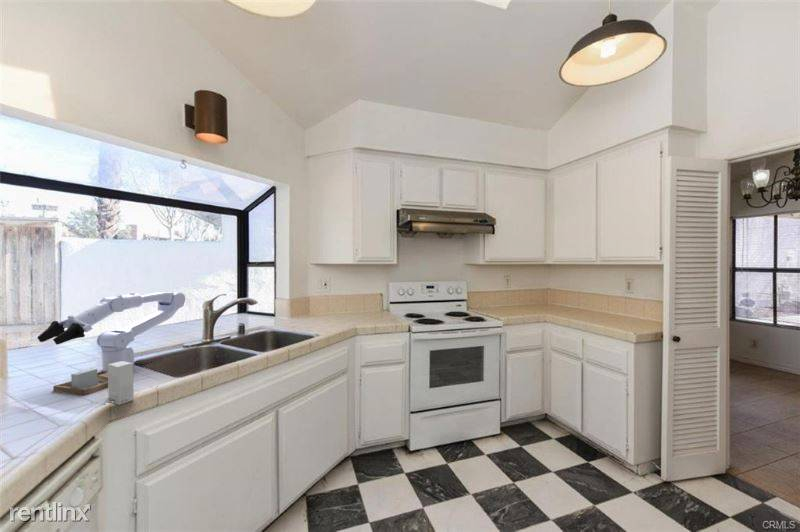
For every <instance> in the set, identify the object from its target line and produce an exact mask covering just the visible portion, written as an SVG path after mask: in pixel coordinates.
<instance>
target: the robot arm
mask: <svg viewBox="0 0 800 532" xmlns="http://www.w3.org/2000/svg"><path fill="white" fill-rule="evenodd" d="M185 301H186V295H185V294H184V293H183V292H169V291H163V292H162V291H161V292H160V291H158V292H154V293H153V292H152V293H149V294H143V295H141V294H139V293H136V292H129V294H117V296H107V297H103V298H102V299H101V300H100V302H99V303H98V304H95V305H94V306H91V307H89V308H88V309H86V310H83V311H82V312H80V313H78V314H77V315H74V316H73V315H67V319H64V320H59V321H57V320H54V321H52V322H51V323H50V325H49V326H48V327H47V328H46V329H45V330H44V331H43V332H41V333H40V334H39V335H38V336H37V340H38V341H39V342H40V343H44V342H46V341H48V340H51V339H52V341H53V342H54V344H55V345H61V344H64V343H66V342H70V341H72V340H76V339H79V338H85V336H86V335H85V333H88V332H90V331H91V330H93V327H92V326H94V325H95V324H97V323H98V322H99V323H100V321H102V320H104V319H106V318H107V317H110V316H111V315H113V314H115V313H122V312H124V311H126V310H130V309H135V308H140V307H141V306H142V305H143V304H147V303H154V302H156V303H157V311H156V312H154V313H151V314H149V315H148V316H144V317H143V318H141V319H139V320H137V321H134V322H133V323H131V324H128V325H126V326H124V327H121V328H119V327H118V328H116V329H112V330H110V331H108V330H107V331H103V332H101V333H100V334H99V335H98V336H97V339H96V344H97V346H98V347H100V350H101V367H102V368H101V370H102V371H108V364H112V363H116V362H120V361H125V362H129V363H133V365H135V353H134V352H135V351H134V349H133V348H132V347H131V346H129V344H130V343H132V342H134V341H135V337H137V336H138V335H141V334H143V333H145V332H146V331H148V330H150V329H152V328H155V327H156V326H158V325H160V324H163V323H164V322H167V321H168V320H170V319H172V317H173V316H174V315H175V314H176V313H177V312H178V311H179V310H180V309H181V308H183V307H184V306H185ZM65 329H66V330H65Z"/></svg>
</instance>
